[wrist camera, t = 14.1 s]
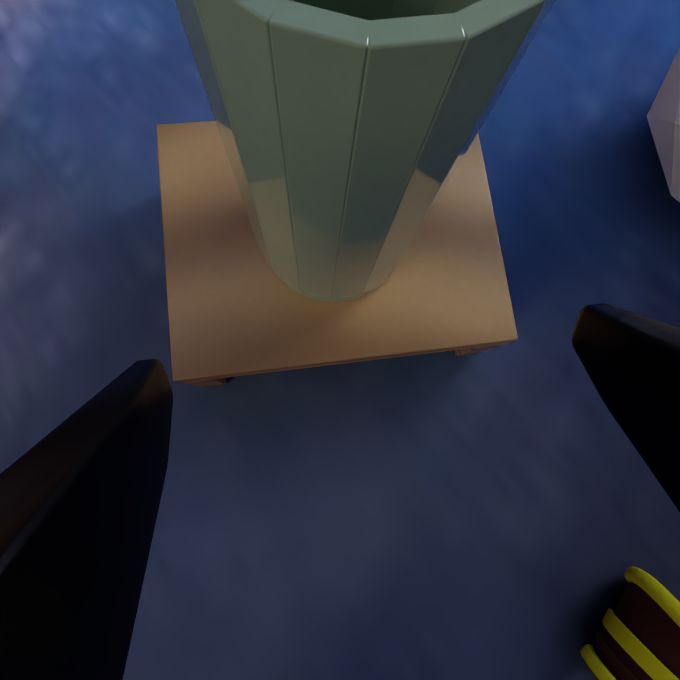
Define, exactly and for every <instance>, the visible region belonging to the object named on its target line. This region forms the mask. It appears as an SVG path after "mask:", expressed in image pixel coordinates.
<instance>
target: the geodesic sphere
mask: <svg viewBox="0 0 680 680" xmlns="http://www.w3.org/2000/svg"><path fill="white" fill-rule="evenodd" d="M647 119H648V123H649V126H650V129H651V132H652V136H653V139H654V142H655V145H656V149H657V152H658V155H659V158H660V162H661V165H662V168H663V171H664V175H665V178H666V181H667V184H668V188H669V191H670V194H671V196H672V197H674V198H675V199H676V200H677V201H678V202H680V47H679V49H678V51H677V53H676V55H675V57H674V59H673V61H672V64H671V66H670V68H669V70H668V72H667V74H666V76H665V78H664V80H663V83H662V85H661V87H660V89H659V91H658V93H657V95H656V97H655V99H654V102H653V104H652V106H651V108H650V110H649V112H648V114H647Z"/></svg>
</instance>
